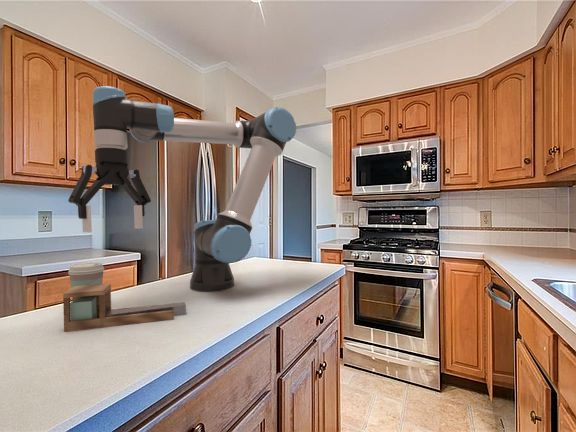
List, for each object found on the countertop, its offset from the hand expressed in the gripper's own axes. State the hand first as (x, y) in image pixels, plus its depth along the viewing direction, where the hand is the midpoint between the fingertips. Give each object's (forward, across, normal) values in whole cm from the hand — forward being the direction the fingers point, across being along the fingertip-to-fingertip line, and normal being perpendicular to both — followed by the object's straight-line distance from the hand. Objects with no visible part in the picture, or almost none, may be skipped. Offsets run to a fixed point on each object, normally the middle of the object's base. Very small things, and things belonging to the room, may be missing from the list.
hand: (114, 230), depth 82 cm
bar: (+22, -1, +10) cm, 25 cm away
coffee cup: (+22, +2, -11) cm, 25 cm away
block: (+22, +9, +2) cm, 24 cm away
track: (+22, +3, +7) cm, 23 cm away
